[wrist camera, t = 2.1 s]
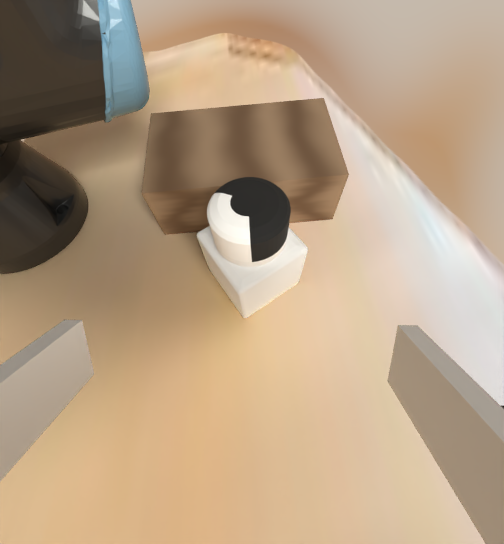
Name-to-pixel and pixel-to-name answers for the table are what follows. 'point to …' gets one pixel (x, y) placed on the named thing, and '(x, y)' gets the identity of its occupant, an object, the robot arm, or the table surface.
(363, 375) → the table surface
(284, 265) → the medicine bottle
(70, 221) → the robot arm
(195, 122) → the walnut box
